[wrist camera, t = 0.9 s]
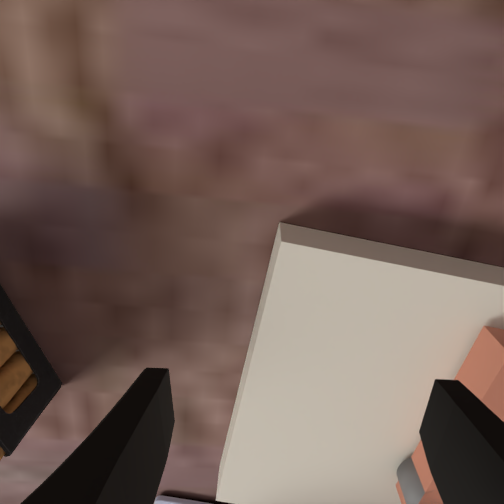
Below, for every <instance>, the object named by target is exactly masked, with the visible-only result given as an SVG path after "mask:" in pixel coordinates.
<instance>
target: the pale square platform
mask: <svg viewBox="0 0 504 504" xmlns="http://www.w3.org/2000/svg"><path fill="white" fill-rule="evenodd" d="M483 326H488V327H494V328H499V329H504V267H499V266H494V265H489V264H484V263H479V262H474V261H469V260H464V259H459V258H454V257H449V256H444V255H439V254H434V253H430V252H425V251H420V250H415V249H410V248H405V247H400V246H395V245H390V244H385V243H380V242H375V241H370V240H365V239H360V238H355V237H350V236H346V235H341V234H336V233H331V232H326V231H321V230H316V229H311V228H306V227H301V226H296V225H291V224H286V223H281V222H279V226H278V230H277V234H276V238H275V242H274V246H273V250H272V254H271V258H270V262H269V266H268V270H267V274H266V279H265V283H264V287H263V291H262V295H261V299H260V303H259V307H258V311H257V315H256V319H255V323H254V328H253V332H252V336H251V340H250V344H249V348H248V352H247V356H246V360H245V364H244V368H243V372H242V376H241V381H240V385H239V389H238V393H237V397H236V401H235V405H234V409H233V413H232V417H231V421H230V425H229V429H228V434H227V438H226V442H225V446H224V450H223V454H222V458H221V462H220V469H219V477H218V485H217V493H216V501H221V502H227V503H233V504H401V501H400V498H399V495H398V492H397V489H396V483H397V482H398V478H397V474H396V473H397V469H398V467H399V465H400V464H401V463H402V462H403V461H404V460H406V459H408V458H410V457H411V456H412V454H413V453H414V451H415V449H416V447H417V445H418V444H419V442H420V440H421V437H420V433H419V430H420V427H421V423H422V420H423V417H424V414H425V410H426V407H427V404H428V401H429V397H430V394H431V391H432V388H433V384H434V381H435V379H445V380H454V378H455V377H456V375H457V373H458V371H459V369H460V368H461V366H462V364H463V362H464V360H465V359H466V357H467V355H468V353H469V351H470V349H471V348H472V346H473V344H474V342H475V340H476V339H477V337H478V335H479V333H480V331H481V330H482V328H483Z"/></svg>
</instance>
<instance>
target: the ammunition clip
mask: <svg viewBox="0 0 504 504" xmlns="http://www.w3.org/2000/svg"><path fill="white" fill-rule="evenodd" d="M61 384H62V382H61V381H60V379H59V378H58V376H57V374H56V373H55V371H54V370H53V368H52V366H51V365H50V363H49V362H48V360H47V358H46V357H45V355H44V354H43V352H42V350H41V349H40V347H39V346H38V344H37V342H36V341H35V339H34V338H33V336H32V334H31V333H30V331H29V330H28V328H27V326H26V325H25V323H24V322H23V320H22V319H21V317H20V315H19V314H18V312H17V311H16V309H15V307H14V306H13V304H12V303H11V301H10V299H9V298H8V296H7V295H6V293H5V291H4V290H3V288H2V287H1V285H0V460H1V459H2V457H3V456H5V457H6V456H10V455H11V454H12V453H13V451H14V450H15V448H16V447H17V446H18V444H19V443H20V441H21V440H22V439H23V437H24V436H25V435H26V433H27V432H28V430H29V429H30V428H31V426H32V425H33V424H34V422H35V421H36V420H37V418H38V417H39V416H40V414H41V413H42V412H43V410H44V409H45V408H46V406H47V405H48V404H49V402H50V401H51V400H52V398H53V397H54V396H55V394H56V393H57V392H58V390H59V389H60V388H61ZM4 454H5V455H4Z"/></svg>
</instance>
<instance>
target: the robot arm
mask: <svg viewBox="0 0 504 504" xmlns="http://www.w3.org/2000/svg"><path fill="white" fill-rule="evenodd" d="M174 421H175V420H174V411H173V402H172V394H171V385H170V376H169V369H167V368H146V369H145V370H143V372H142V373H141V374H140V375H139V377H138V378H137V379H136V380H135V382H134V383H133V384H132V385H131V387H130V388H129V389H128V390H127V392H126V393H125V394H124V395H123V397H122V398H121V399H120V400H119V401H118V402H117V404H116V405H115V406H114V407H113V408H112V410H111V411H110V412H109V413H108V414H107V415H106V417H105V418H104V419H103V420H102V421H101V422H100V423H99V425H98V426H97V427H96V428H95V429H94V430H93V431H92V433H91V434H90V435H89V436H88V437H87V438H86V439H85V440H84V441H83V442H82V443H81V444H80V445H79V446H78V448H77V449H76V450H75V451H74V452H73V453H72V454H71V455H70V456H69V457H68V458H67V459H66V460H65V461H64V462H63V463H62V464H61V465H60V466H59V467H58V468H57V469H56V470H55V471H54V472H53V473H52V474H51V475H50V476H49V477H48V478H47V479H46V480H45V481H44V482H43V483H42V484H41V485H40V486H39V487H38V488H37V489H36V490H35V491H34V492H33V493H31V494H30V495H29V496H28V497H27V498H26V499H25V500H24V501H23V502H22V503H21V504H153V503H154V504H212V503H206V502H200V501H194V500H188V499H181V498H175V497H169V496H163V495H160V496H158V497H156V494H157V490H158V487H159V484H160V481H161V477H162V474H163V471H164V468H165V464H166V461H167V457H168V452H169V447H170V442H171V437H172V432H173V427H174ZM419 433H420V437H421V441H422V445H423V448H424V452H425V455H426V459H427V462H428V465H429V469H430V472H431V474H432V477H433V480H434V482H435V484H436V487H437V489H438V492H439V494H440V497H441V499H442V502H443V504H504V422H503V421H502V420H501V419H500V418H499V417H498V416H497V415H496V414H494V413H493V412H492V411H491V410H490V409H489V408H488V407H487V406H486V405H485V404H484V403H483V402H482V401H481V400H480V399H478V398H477V397H476V396H475V395H474V394H473V393H472V392H471V391H470V390H469V389H468V388H467V387H466V386H464V385H463V384H462V383H461V382H460V381H459V380H445V379H435V381H434V384H433V388H432V391H431V394H430V397H429V401H428V404H427V407H426V410H425V414H424V417H423V420H422V423H421V427H420V430H419ZM155 497H156V499H155ZM154 500H155V502H154Z"/></svg>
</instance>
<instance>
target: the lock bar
mask: <svg viewBox="0 0 504 504" xmlns="http://www.w3.org/2000/svg"><path fill="white" fill-rule="evenodd" d="M454 380H459V381H460V382H461V383H462V384H463V385H464V386H466V387H467V388H468V389H469V390H470V391H471V392H472V393H473V394H474V395H475V396H476V397H477V398H478V399H480V400H481V401H482V402H483V403H484V404H485V405H486V406H487V407H488V408H489V409H490V410H491V411H492V412H493V413H494V414H496V415H497V416H498V417H499V418H500V419H501V420H502V421H503V422H504V329H499V328H494V327H488V326H483V328H482V330H481V331H480V333H479V335H478V337H477V339H476V340H475V342H474V344H473V346H472V348H471V349H470V351H469V353H468V355H467V357H466V359H465V360H464V362H463V364H462V366H461V368H460V369H459V371H458V373H457V375H456V377H455V378H454ZM396 474H397V478H398V482H397V483H396V489H397V492H398V495H399V498H400V501H401V504H443V502H442V499H441V497H440V494H439V492H438V489H437V487H436V484H435V482H434V480H433V477H432V474H431V472H430V469H429V465H428V462H427V459H426V455H425V452H424V448H423V445H422V441H421V440H420V442H419V444H418V445H417V447H416V449H415V451H414V453H413V454H412V456H411V457H410V458H408V459H406V460H404V461H403V462H402V463H401V464H400V465H399V467H398V469H397V473H396Z"/></svg>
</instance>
